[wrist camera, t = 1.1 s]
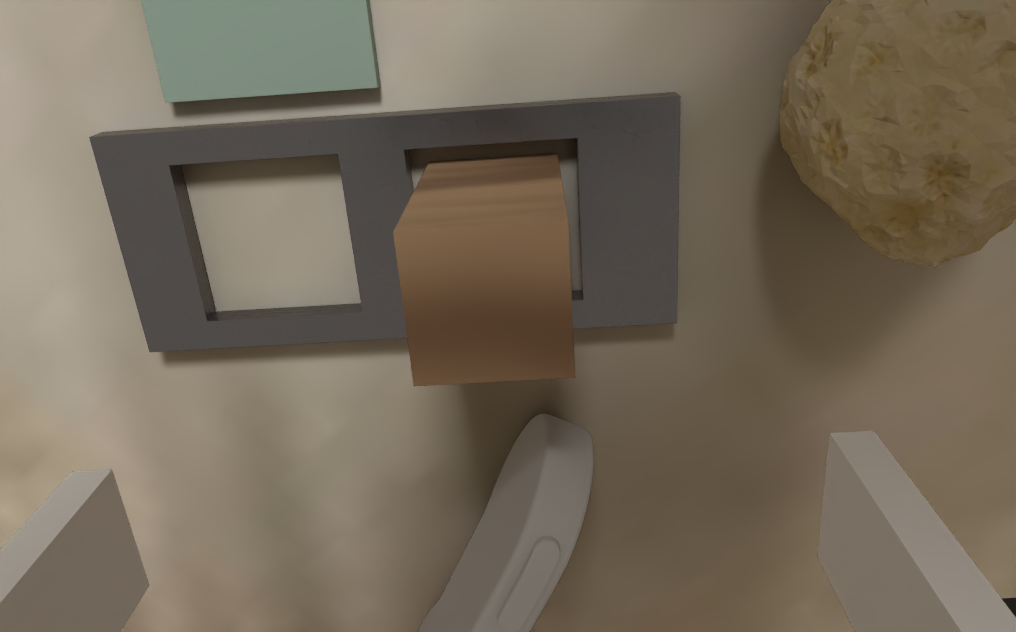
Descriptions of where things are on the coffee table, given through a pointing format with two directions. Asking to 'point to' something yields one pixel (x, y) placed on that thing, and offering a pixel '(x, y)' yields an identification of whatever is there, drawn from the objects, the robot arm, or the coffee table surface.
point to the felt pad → (260, 47)
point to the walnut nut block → (487, 272)
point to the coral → (908, 122)
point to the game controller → (521, 533)
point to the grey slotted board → (398, 212)
